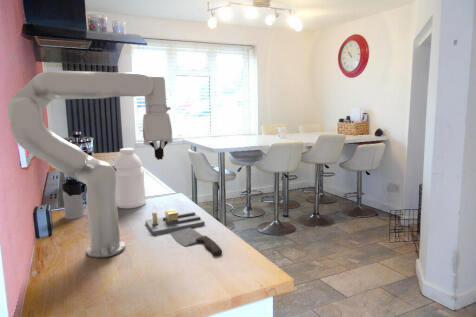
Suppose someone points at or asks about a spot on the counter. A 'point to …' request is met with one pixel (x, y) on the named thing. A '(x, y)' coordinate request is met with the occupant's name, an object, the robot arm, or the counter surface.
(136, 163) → the bottle
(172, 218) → the cardboard box
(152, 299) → the counter surface
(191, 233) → the cleaver
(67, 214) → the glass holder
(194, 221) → the bolt plate
